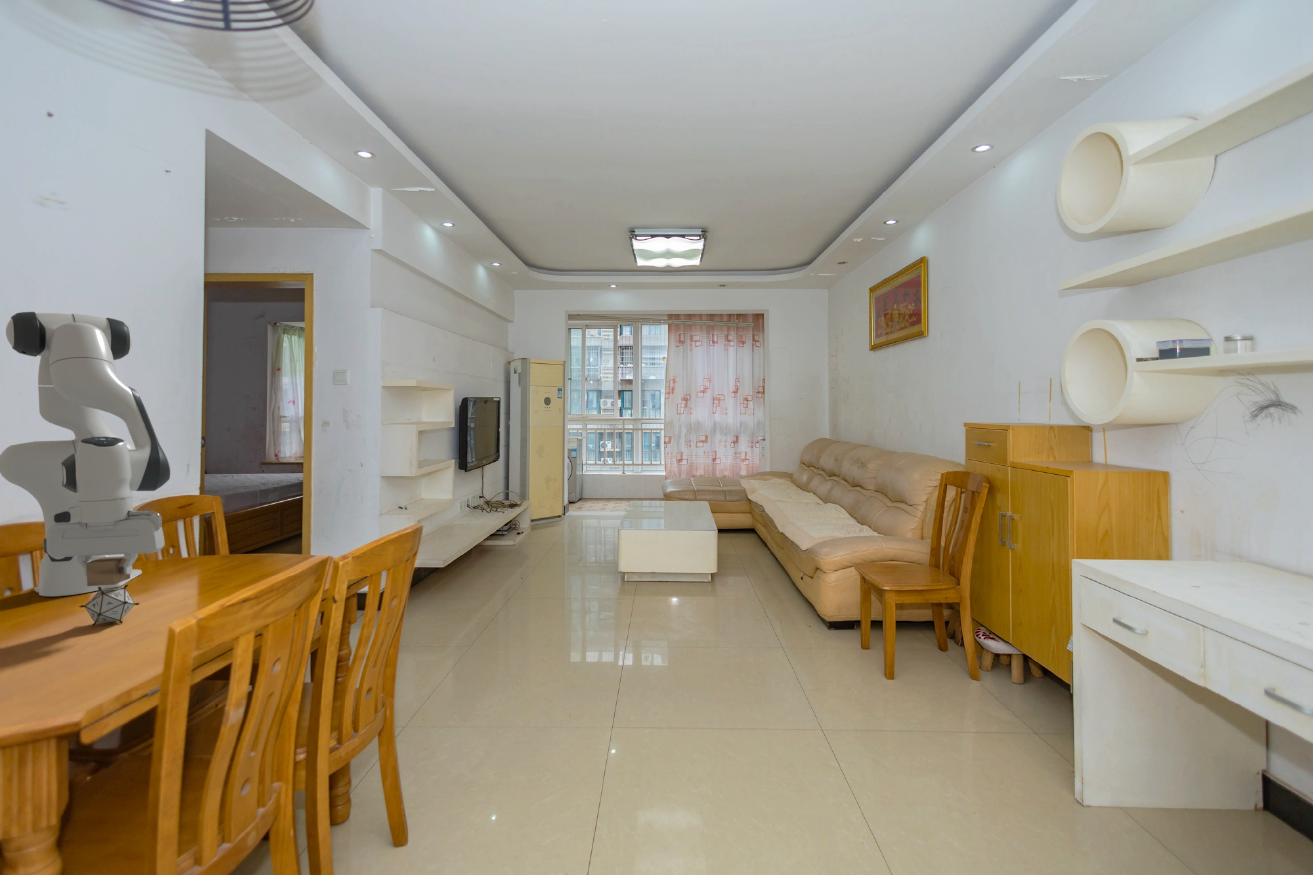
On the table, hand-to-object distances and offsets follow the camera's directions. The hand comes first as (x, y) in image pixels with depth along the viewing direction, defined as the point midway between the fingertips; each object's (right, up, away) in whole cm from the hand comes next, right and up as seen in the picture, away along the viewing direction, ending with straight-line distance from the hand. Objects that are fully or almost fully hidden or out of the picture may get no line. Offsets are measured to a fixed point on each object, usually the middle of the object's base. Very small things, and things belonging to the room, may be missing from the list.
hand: (108, 574), depth 129 cm
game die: (0, -11, 0) cm, 11 cm away
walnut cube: (0, -2, 0) cm, 2 cm away
